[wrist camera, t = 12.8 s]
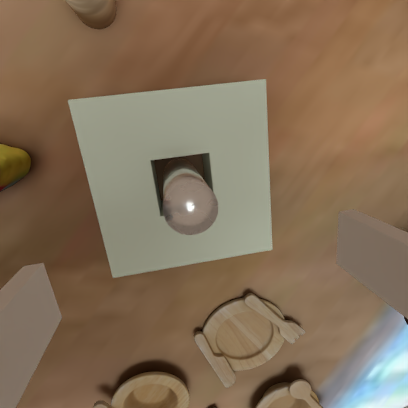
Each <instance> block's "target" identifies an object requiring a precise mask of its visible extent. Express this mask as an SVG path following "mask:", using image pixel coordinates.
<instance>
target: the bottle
mask: <svg viewBox="0 0 408 408" xmlns="http://www.w3.org/2000/svg"><path fill="white" fill-rule="evenodd" d="M30 165H31V159H30V156H29V155H28V154H27V153H26V152H25V151H24V150H22V149H19V148H14V147H9V146H7V145H4V144H0V192H1V191H3V190H5V189H6V188H8V187H10V186H12V185H13V184H15V183H16V182H18V181H19V180H20V179H22V178H23V177H24V176H25V175H26V174H27V173H28V172H29V169H30Z"/></svg>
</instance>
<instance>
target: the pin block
mask: <svg viewBox="0 0 408 408" xmlns="http://www.w3.org/2000/svg"><path fill="white" fill-rule="evenodd" d="M68 103H69V107H70V111H71V115H72V119H73V123H74V127H75V131H76V135H77V139H78V143H79V147H80V150H81V154H82V158H83V162H84V166H85V170H86V174H87V178H88V182H89V186H90V190H91V194H92V198H93V202H94V205H95V209H96V213H97V217H98V221H99V225H100V229H101V233H102V237H103V241H104V245H105V249H106V253H107V257H108V260H109V264H110V268H111V272H112V276H113V278H116V277H122V276H127V275H133V274H139V273H144V272H150V271H155V270H161V269H167V268H172V267H178V266H183V265H189V264H195V263H200V262H206V261H212V260H217V259H223V258H228V257H234V256H240V255H245V254H251V253H256V252H262V251H268V250H272V227H271V201H270V175H269V149H268V122H267V96H266V79H262V80H252V81H243V82H234V83H224V84H215V85H205V86H196V87H186V88H177V89H167V90H158V91H148V92H139V93H129V94H120V95H110V96H101V97H91V98H82V99H72V100H68ZM195 154H202V160H203V168H204V177H205V182H206V183H207V185H208V186H209V187H210V189H211V190H212V191H213V193H214V194H215V196H216V198H217V201H218V215H217V218H216V220H215V222H214V223H213V224H212V226H211V227H210V228H208V229H207V230H206V231H204V232H202V233H199V234H196V235H184V234H180V233H178V232H176V231H174V230H173V229H172V228H171V227H170V226H169V225H168V224H167V222H166V220H165V218H164V214H163V200H162V201H161V198H160V193H159V187H158V181H157V175H156V169H155V164H154V160H158V159H165V158H173V157H180V156H188V155H195Z"/></svg>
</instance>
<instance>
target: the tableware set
mask: <svg viewBox="0 0 408 408" xmlns="http://www.w3.org/2000/svg"><path fill="white" fill-rule="evenodd" d="M304 333H305V330H303V329H302V328H301V327H300V326H299V325H297V324H296V323H295V322H293V321H291V320H285V319H284V317H283V315H282V313H281V312H280V310H279V309H278V308H277V307H276V306H275V305H273V304H272V303H270V302H268V301H266V300H263V299H259V298H258V297H257V296H256V295H255V294H253V293H248V294H247V295H245V297H244V298H239V299H235V300H232V301H229V302H227V303H225V304H223V305H222V306H220V307H219V308H217V309H216V310H215V311H214V312H213V313H212V314H211V315H210V317H209V318H208V319H207V321H206V323H205V325H204V327H203V331H202V332H201V331H198V332H196V333H195V334H194V340H195V342H196V344H197V345H198V347H199V348H200V350H201V351H202V353H203V354H204V356H205V357H206V359H207V360H208V362H209V363H210V365H211V366H212V368H213V369H214V371H215V372H216V374H217V375H218V377H219V378H220V380H221V381H222V383H223V384H224V386H225V387H226V388H228V387H230V386H232V385H233V384H234V383H235V379H236V378H235V374H234V372H233V371H240V370H247V369H252V368H255V367H257V366H260V365H262V364H264V363H265V362H267V361H268V360H270V359H271V358H272V357H273V356H274V355H275V354H276V353H277V352H278V351H279V349H280V348H281V346H282V344H283V342H284V339H286V340H287V341H288V342H289V343H291V344H293V343H294V342H295V340H294V339H295V338H296V339H299V337H300V336H299V334H300V335H303V334H304ZM189 401H190V396H189V391H188V388H187V386H186V385H185V383H184V382H183V381H182V380H181V379H179V378H178V377H176V376H174V375H172V374H169V373H166V372H156V371H154V372H146V373H142V374H139V375H136V376H133V377H132V378H130V379H128V380H127V381H125V382H124V383H123V384H122V385H120V387H119V388H118V389H117V390H116V392H115V393H114V395H113V398H112V402H111V405H109V404H108V403H106V402H105V401H102V400H100V401H97V402H96V403H95V404H94V407H93V408H188V406H189ZM213 408H216V407H213ZM255 408H323V407H322V406H321V405H320V404H319V400H318V397H317V395H316V394H315V393H314V392H313V391H312V390H311V386H310V384H309V383H308V382H307V381H306V380H303V379H298V380H295V381H293V382H292V383H287V382H283V383H278V384H275V385H273V386H271V387H270V388H269V389H268V390H267V391H266V392H265V393H264V395H263V397H262V399H261V400H260V401H259V402H258V404H257V405H256V407H255Z"/></svg>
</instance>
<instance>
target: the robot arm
mask: <svg viewBox="0 0 408 408" xmlns="http://www.w3.org/2000/svg"><path fill="white" fill-rule="evenodd" d="M336 264H338V265H339V266H340V267H342V268H343V269H344V270H345V271H347V272H348V273H349V274H350V275H352V276H353V277H354V278H356V279H357V280H358V281H359V282H361V283H362V284H363V285H365V286H366V287H367V288H368V289H370V290H371V291H372V292H374V293H375V294H376V295H377V296H379V297H380V298H381V299H383V300H384V301H385V302H386V303H388V304H389V305H390V306H392V307H393V308H394V309H395V310H397V311H398V312H399V313H400V314H402V315H403V316H404V317H406V318H407V319H408V232H406V231H403V230H401V229H399V228H396V227H394V226H392V225H389V224H387V223H385V222H382V221H380V220H378V219H375V218H373V217H371V216H368V215H366V214H364V213H361V212H359V211H357V210H354V209H352V210H346V211H341V212H339V218H338V241H337V263H336ZM61 319H62V316H61V313H60V310H59V307H58V305H57V302H56V299H55V296H54V293H53V290H52V287H51V284H50V281H49V278H48V275H47V272H46V269H45V266H44V263H39V264H33V265H28V266H23V267H22V268H21V269H20V270H19V271H18V272H17V273H16V274H15V275H14V276H13V277H12V278H11V279H10V280H9V281H8V282H7V283H6V284H5V286H4V287H3V288H2V289H1V290H0V408H16V406H17V404H18V402H19V401H20V399H21V397H22V395H23V393H24V391H25V389H26V387H27V385H28V383H29V381H30V379H31V377H32V375H33V373H34V371H35V369H36V367H37V365H38V364H39V362H40V360H41V358H42V356H43V354H44V352H45V350H46V348H47V346H48V344H49V342H50V340H51V338H52V336H53V334H54V332H55V330H56V329H57V327H58V325H59V323H60V321H61Z"/></svg>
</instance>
